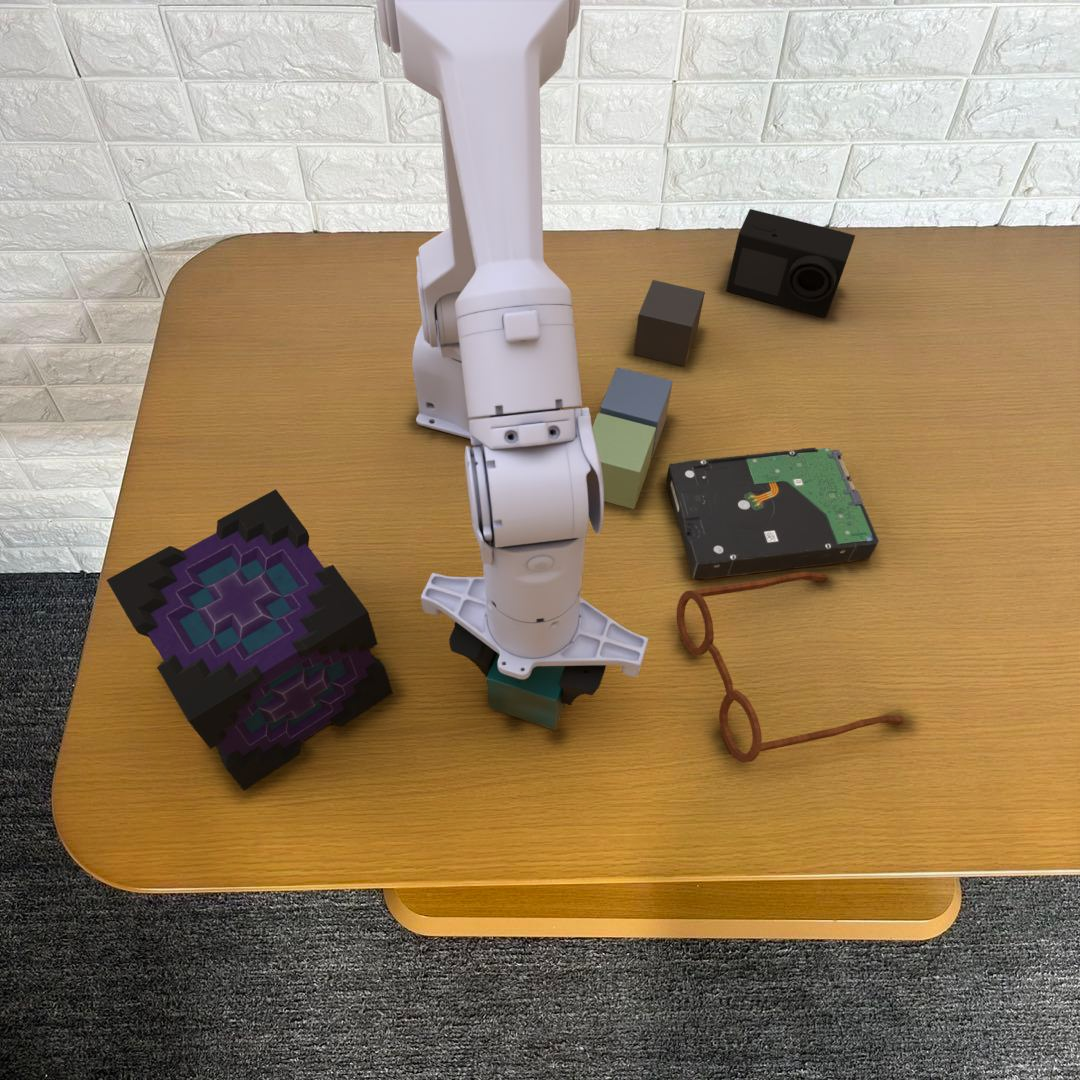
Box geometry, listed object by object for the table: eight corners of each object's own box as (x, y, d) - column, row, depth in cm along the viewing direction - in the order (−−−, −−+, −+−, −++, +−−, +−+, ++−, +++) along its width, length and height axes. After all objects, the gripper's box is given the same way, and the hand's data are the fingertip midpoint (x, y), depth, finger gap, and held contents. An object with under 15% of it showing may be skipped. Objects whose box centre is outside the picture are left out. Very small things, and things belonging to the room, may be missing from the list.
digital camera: (720, 298, 90) (733, 240, 84) (735, 265, 93) (749, 206, 87) (823, 326, 88) (844, 268, 82) (835, 292, 90) (856, 233, 85)
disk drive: (692, 585, 71) (872, 560, 72) (697, 566, 69) (883, 541, 70) (662, 483, 77) (829, 461, 78) (666, 462, 75) (838, 440, 76)
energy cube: (169, 664, 67) (106, 579, 57) (311, 581, 71) (275, 488, 61) (243, 790, 61) (188, 721, 52) (392, 693, 66) (368, 611, 56)
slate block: (596, 446, 79) (600, 407, 75) (612, 406, 82) (616, 366, 77) (651, 460, 78) (658, 422, 74) (665, 419, 81) (673, 380, 77)
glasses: (670, 615, 69) (679, 581, 65) (824, 576, 71) (842, 541, 67) (737, 775, 62) (751, 748, 58) (905, 726, 64) (931, 697, 60)
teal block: (488, 708, 64) (486, 678, 60) (512, 649, 67) (511, 616, 63) (555, 730, 63) (556, 701, 59) (576, 669, 66) (579, 637, 62)
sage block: (577, 494, 76) (579, 456, 72) (594, 451, 79) (597, 412, 74) (634, 509, 75) (640, 472, 71) (649, 465, 78) (656, 427, 74)
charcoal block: (633, 354, 85) (638, 314, 81) (647, 320, 88) (652, 279, 84) (684, 367, 84) (692, 326, 80) (697, 332, 87) (705, 291, 83)
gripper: (391, 601, 52) (416, 698, 63) (633, 676, 49) (614, 764, 60) (438, 507, 56) (454, 615, 67) (666, 573, 53) (642, 673, 64)
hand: (532, 680), depth 64 cm, fingers closed on teal block, 5 cm apart
